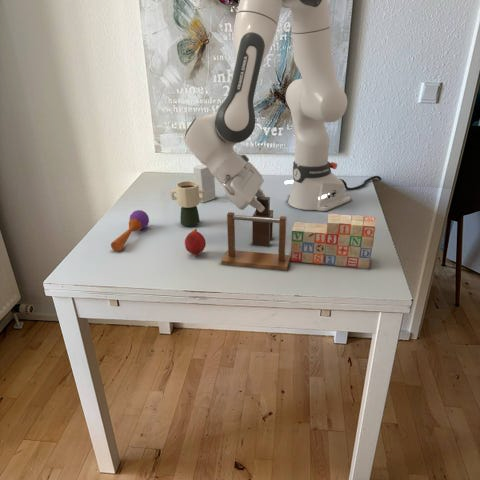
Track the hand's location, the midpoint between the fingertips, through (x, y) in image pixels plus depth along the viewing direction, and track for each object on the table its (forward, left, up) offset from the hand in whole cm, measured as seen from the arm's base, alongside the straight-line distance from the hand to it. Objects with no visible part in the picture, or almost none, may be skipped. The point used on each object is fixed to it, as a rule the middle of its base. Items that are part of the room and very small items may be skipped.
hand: (265, 206), depth 139 cm
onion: (+21, -4, -11) cm, 24 cm away
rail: (+9, +9, -11) cm, 17 cm away
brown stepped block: (0, 0, -11) cm, 11 cm away
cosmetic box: (-3, -42, -11) cm, 43 cm away
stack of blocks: (-8, +20, -11) cm, 24 cm away
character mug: (+12, -25, -11) cm, 30 cm away
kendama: (+32, -25, -11) cm, 42 cm away
